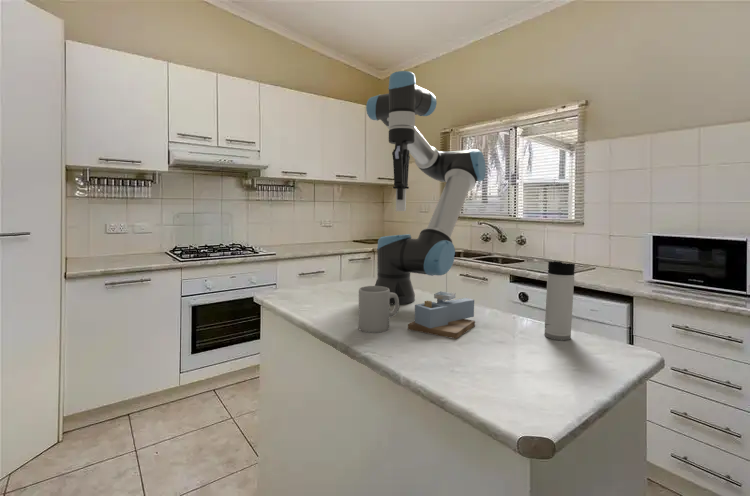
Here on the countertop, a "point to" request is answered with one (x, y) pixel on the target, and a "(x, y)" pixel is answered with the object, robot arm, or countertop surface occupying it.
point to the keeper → (444, 296)
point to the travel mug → (559, 300)
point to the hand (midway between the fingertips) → (400, 211)
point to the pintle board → (450, 330)
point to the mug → (375, 308)
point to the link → (444, 312)
